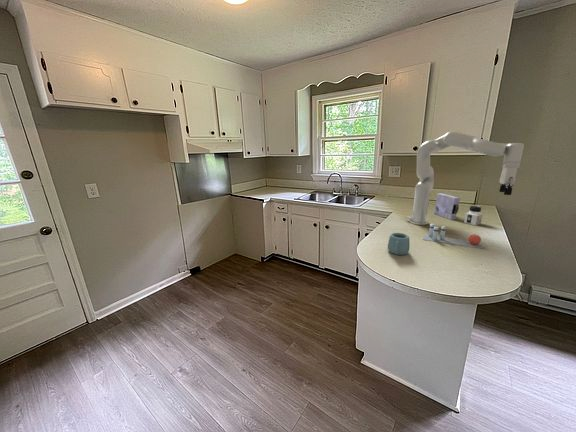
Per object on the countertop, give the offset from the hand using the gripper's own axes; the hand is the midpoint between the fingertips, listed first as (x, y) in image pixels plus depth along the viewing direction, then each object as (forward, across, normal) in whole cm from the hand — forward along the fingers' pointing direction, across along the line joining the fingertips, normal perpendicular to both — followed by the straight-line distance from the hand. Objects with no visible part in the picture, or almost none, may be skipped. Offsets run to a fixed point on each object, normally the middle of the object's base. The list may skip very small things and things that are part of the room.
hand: (504, 193), depth 147 cm
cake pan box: (+27, -36, -25) cm, 52 cm away
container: (+28, -25, -8) cm, 38 cm away
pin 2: (+27, +24, -35) cm, 51 cm away
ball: (+24, +22, -15) cm, 36 cm away
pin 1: (+27, +19, -37) cm, 50 cm away
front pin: (+27, +22, -31) cm, 47 cm away
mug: (+27, +54, -54) cm, 81 cm away
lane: (+27, +22, -26) cm, 44 cm away
